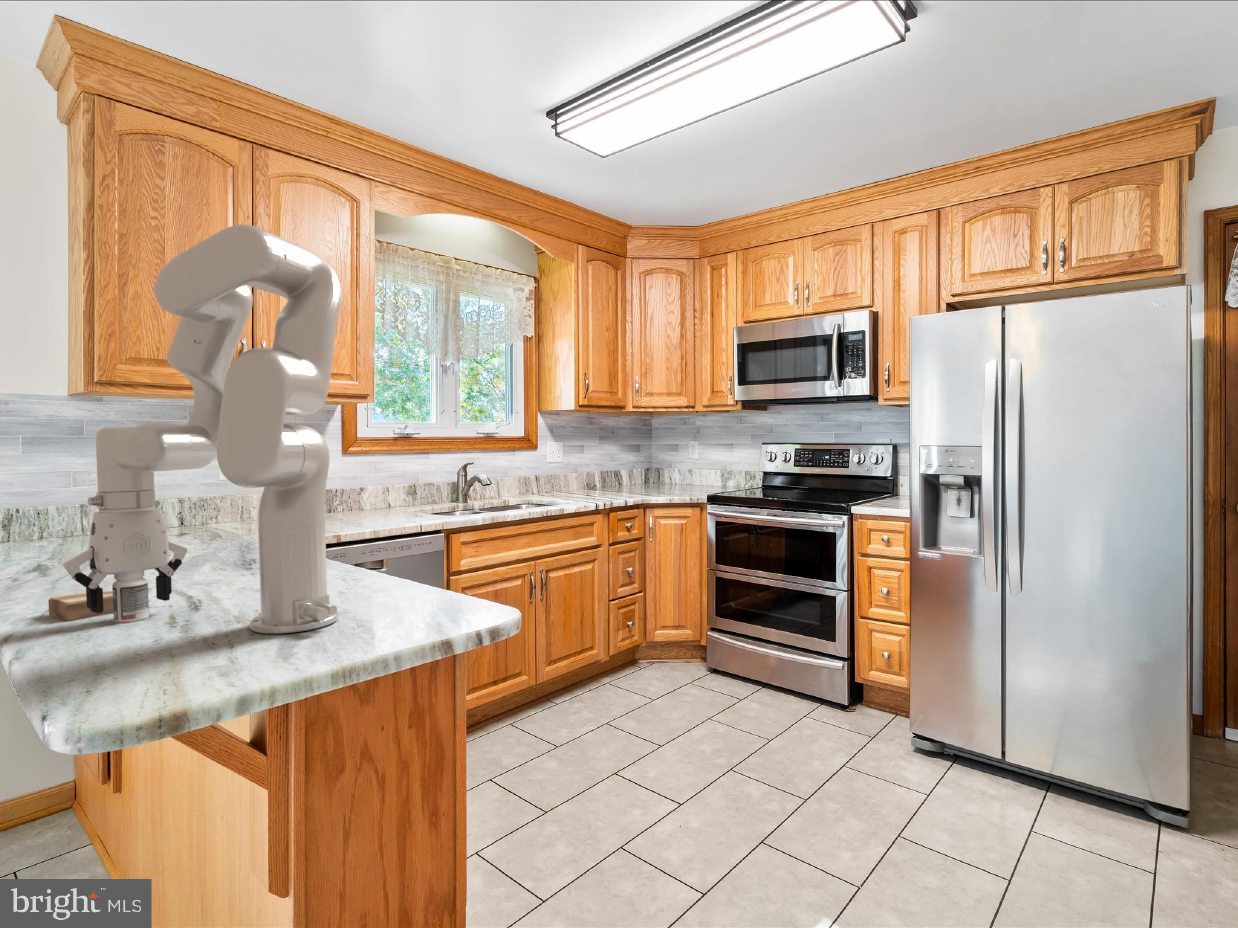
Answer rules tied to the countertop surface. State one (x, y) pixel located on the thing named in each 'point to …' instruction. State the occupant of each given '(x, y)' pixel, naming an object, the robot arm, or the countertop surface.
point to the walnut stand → (77, 606)
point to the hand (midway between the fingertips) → (131, 605)
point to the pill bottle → (130, 597)
